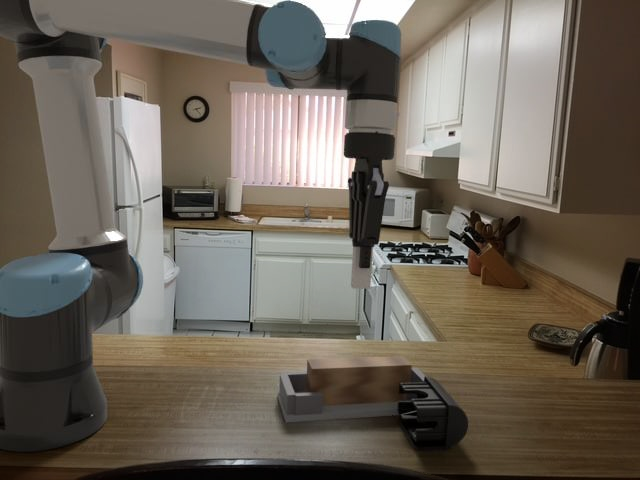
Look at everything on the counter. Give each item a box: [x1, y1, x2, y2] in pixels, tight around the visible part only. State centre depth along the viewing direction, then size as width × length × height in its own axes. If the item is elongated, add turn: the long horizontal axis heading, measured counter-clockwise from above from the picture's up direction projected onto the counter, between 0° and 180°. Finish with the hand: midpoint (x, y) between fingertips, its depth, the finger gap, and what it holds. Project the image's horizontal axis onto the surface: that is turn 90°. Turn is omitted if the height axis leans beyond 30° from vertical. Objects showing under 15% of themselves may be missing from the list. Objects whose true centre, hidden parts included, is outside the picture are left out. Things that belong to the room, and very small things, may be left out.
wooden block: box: [306, 355, 413, 406], centre depth 85 cm, size 16×4×6 cm, turn 101°
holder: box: [277, 367, 426, 423], centre depth 85 cm, size 24×9×4 cm, turn 102°
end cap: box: [397, 375, 469, 452], centre depth 76 cm, size 10×7×7 cm
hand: (360, 287), depth 83 cm, fingers closed
